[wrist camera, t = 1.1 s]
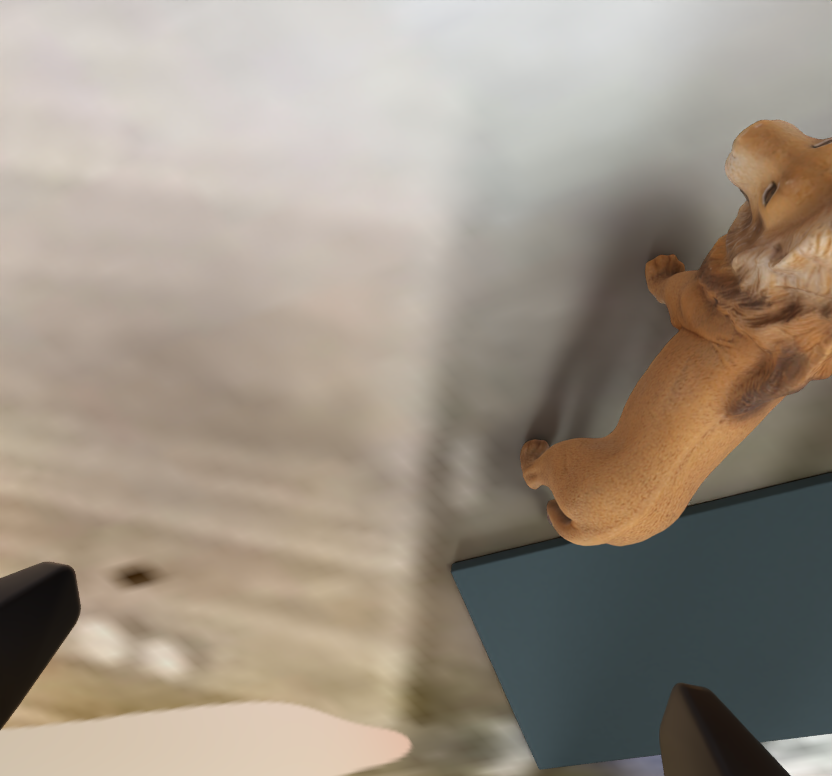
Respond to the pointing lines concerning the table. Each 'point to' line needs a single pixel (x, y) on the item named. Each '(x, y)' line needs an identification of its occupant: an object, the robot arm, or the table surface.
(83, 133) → the table surface
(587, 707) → the dark teal mat
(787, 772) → the robot arm
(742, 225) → the lion figurine
